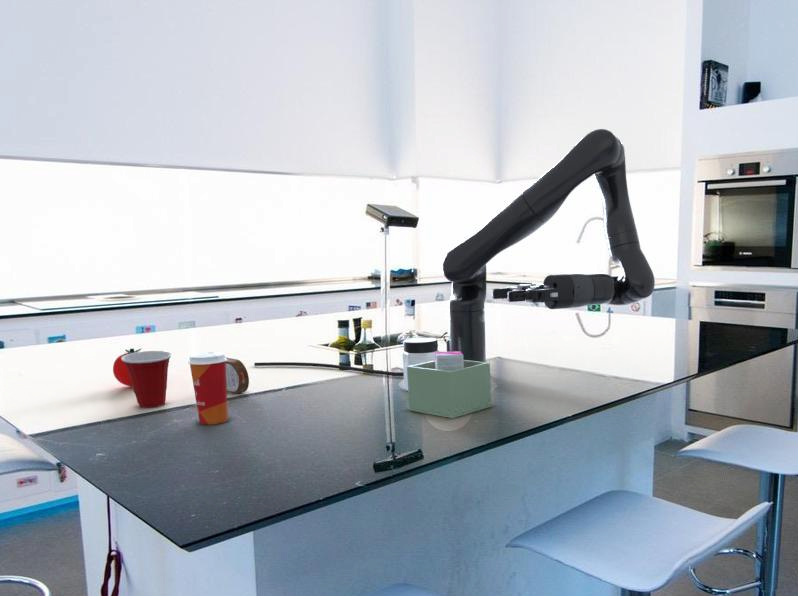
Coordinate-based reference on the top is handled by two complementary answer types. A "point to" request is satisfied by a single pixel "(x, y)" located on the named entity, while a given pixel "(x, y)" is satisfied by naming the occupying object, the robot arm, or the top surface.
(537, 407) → the top surface
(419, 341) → the jar
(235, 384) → the tin
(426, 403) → the mint green storage bin
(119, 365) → the tomato
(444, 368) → the supplement box
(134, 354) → the plastic cup
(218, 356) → the paper cup
